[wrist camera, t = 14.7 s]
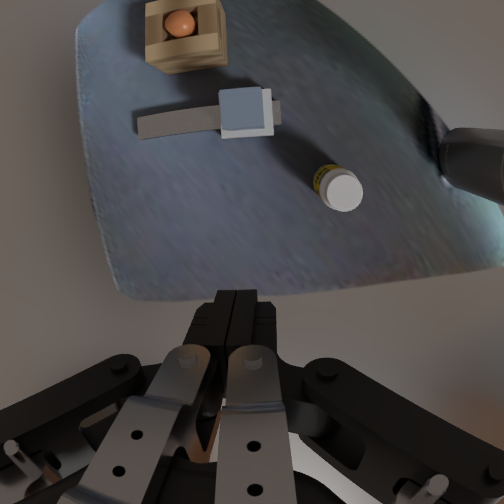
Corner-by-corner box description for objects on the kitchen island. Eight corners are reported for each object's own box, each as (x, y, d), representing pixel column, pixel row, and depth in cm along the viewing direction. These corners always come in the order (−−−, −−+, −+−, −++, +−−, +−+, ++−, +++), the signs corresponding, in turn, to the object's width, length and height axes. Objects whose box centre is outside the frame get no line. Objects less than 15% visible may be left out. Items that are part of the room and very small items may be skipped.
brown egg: (197, 17, 26) (191, 7, 24) (198, 38, 27) (192, 30, 25) (172, 22, 27) (164, 13, 24) (173, 43, 28) (164, 35, 25)
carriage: (270, 92, 34) (270, 78, 26) (273, 135, 36) (274, 133, 27) (222, 96, 35) (208, 83, 26) (225, 138, 36) (212, 138, 28)
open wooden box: (225, 14, 30) (215, -11, 23) (228, 66, 33) (218, 48, 26) (166, 24, 31) (145, 3, 24) (168, 74, 34) (145, 61, 26)
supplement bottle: (316, 159, 37) (329, 164, 29) (351, 168, 37) (371, 176, 29) (308, 195, 39) (318, 209, 31) (342, 203, 39) (359, 220, 31)
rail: (279, 102, 35) (279, 100, 33) (280, 125, 36) (281, 124, 34) (142, 118, 36) (136, 117, 34) (144, 139, 37) (138, 140, 35)
